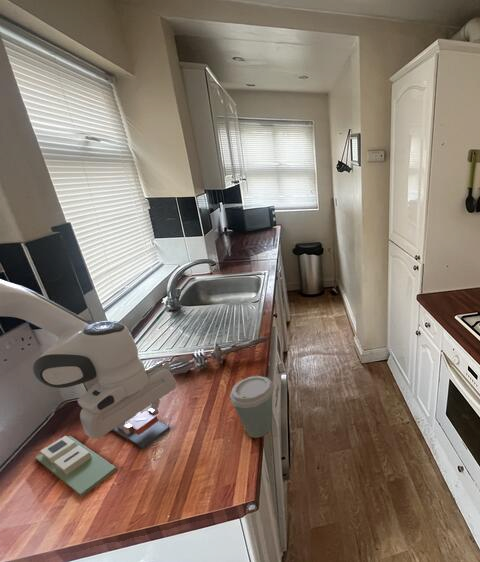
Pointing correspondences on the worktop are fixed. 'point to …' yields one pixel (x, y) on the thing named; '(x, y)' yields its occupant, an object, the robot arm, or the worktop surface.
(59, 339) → the robot arm
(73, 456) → the green word strip
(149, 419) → the brown flat square block
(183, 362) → the spaceship
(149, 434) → the strip
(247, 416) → the disposable coffee cup
